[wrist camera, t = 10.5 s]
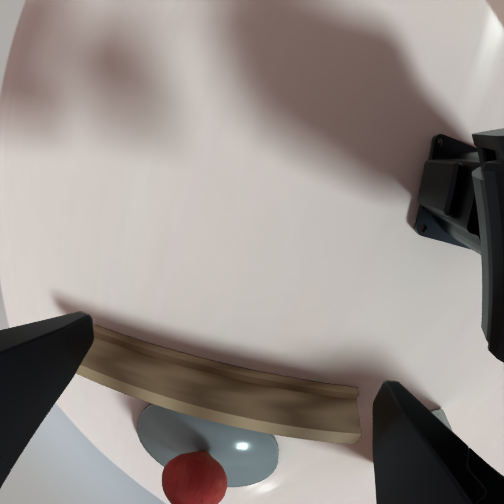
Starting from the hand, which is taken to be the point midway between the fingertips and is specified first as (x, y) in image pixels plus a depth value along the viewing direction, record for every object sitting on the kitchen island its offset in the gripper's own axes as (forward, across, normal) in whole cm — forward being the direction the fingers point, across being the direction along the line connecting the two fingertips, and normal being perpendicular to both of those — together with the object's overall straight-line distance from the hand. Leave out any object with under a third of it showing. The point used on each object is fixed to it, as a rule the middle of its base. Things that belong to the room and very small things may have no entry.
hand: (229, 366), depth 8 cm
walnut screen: (+12, +2, +11) cm, 16 cm away
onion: (+11, +2, +21) cm, 24 cm away
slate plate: (+12, +2, +21) cm, 24 cm away
